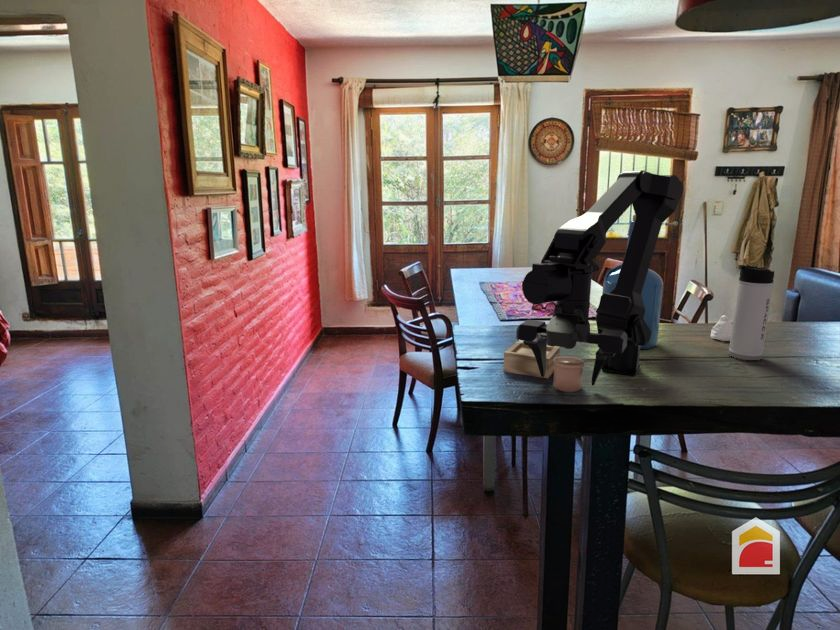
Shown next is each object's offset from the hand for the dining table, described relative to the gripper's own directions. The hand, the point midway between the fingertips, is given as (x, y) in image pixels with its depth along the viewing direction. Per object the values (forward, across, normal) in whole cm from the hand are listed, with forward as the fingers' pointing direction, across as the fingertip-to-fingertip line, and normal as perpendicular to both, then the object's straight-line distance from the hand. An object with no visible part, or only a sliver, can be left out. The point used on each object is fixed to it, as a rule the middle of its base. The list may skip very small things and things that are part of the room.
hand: (567, 380), depth 99 cm
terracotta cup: (+1, 0, 0) cm, 1 cm away
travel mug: (+1, +29, +37) cm, 47 cm away
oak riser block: (+2, -9, +7) cm, 12 cm away
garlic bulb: (+1, +25, +51) cm, 57 cm away
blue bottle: (+1, +5, +36) cm, 36 cm away
